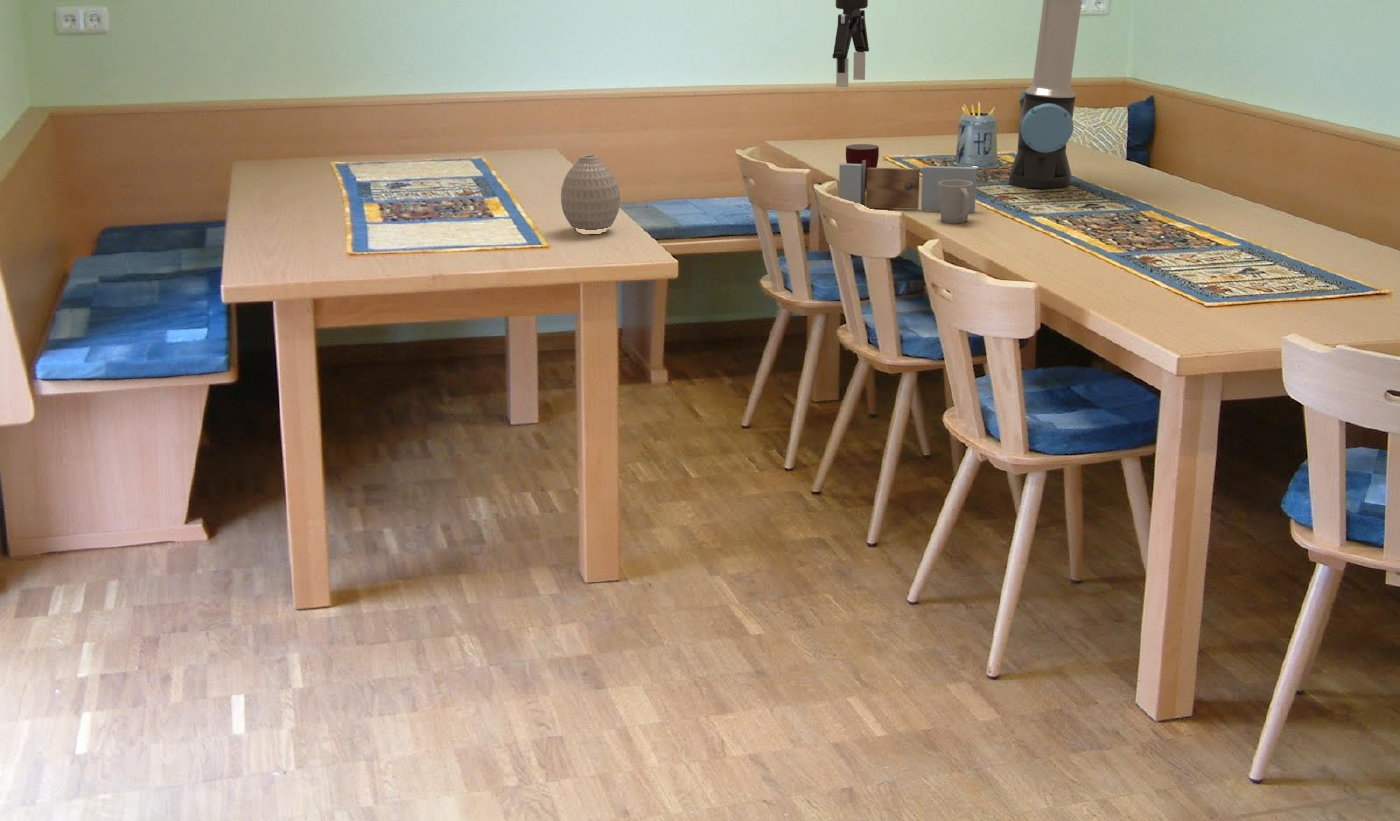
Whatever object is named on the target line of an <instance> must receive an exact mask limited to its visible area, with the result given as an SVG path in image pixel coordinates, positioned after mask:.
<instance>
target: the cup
mask: <svg viewBox="0 0 1400 821" xmlns="http://www.w3.org/2000/svg"><path fill="white" fill-rule="evenodd" d="M938 188H939V203H940V212H939V213H940V220H941V222H943V223H946V224H962V223H963V224H964V223H966V222H967V221H968V216H969V213H968V212H969V207H970V202H971V195H972V188H973V182H971V181H967V180H943V181H940V182H938Z"/></svg>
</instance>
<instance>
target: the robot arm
mask: <svg viewBox="0 0 1400 821" xmlns="http://www.w3.org/2000/svg"><path fill="white" fill-rule="evenodd" d="M868 1H869V0H835V7H836V9H838V10H842V11H843V12H842V14H838V15H837V28H836V32H835V40H834V47H833V53H832V59H834V60H835V59H836V65H835V66H836V68H835V69H836V77H835V78H836V80H835V81H836V83H835V84H836V87H835V88H848V87H849V63H850V62H849V61H850V60H849V57H848V54H849V49H850V46H851V43H853V47H854V51H853V70H852V71H853V76H852V79H853V80H856V81H857V80H860V81H865V80H866V52H869V51H870V47H869V41H868V40H869V39H868V34H867V31H868V30H867V24H866V12H865V9H866V8H868V5H869V2H868ZM1082 2H1083V0H1042V7H1041V15H1040V25H1039V31H1038V39H1037V46H1036V47H1037V48H1036V55H1035V63H1034V70H1033V78H1032V84H1031V85H1030V86H1028V88H1026V89H1023V90H1022V91H1021V92H1020V99H1019V104H1020V105H1019V116H1018V117H1019V120H1018V138H1017V150H1016V151H1017V152H1016V155H1015V157H1014V160H1013V163H1012V164H1011V168H1010V170H1009V172H1008V183H1009V184H1010V185H1013V186H1016V187H1020V188H1025V189H1027V188H1029V189H1058V188H1065V187H1068V186H1070V185H1072V172H1071V168H1070V164H1069V159H1068V155H1067V143H1068V142H1069V140H1070V139H1071V138H1072V135H1073V131H1074V121H1073V117H1074V110H1075V103H1076V95H1077V94H1076V92H1074V90H1073V89H1072V87H1071V83H1072V76H1073V69H1074V62H1075V60H1074V59H1075V54H1076V46H1077V37H1078V30H1079V23H1080V17H1081V9H1082V8H1081V7H1082ZM851 41H852V42H851Z"/></svg>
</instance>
